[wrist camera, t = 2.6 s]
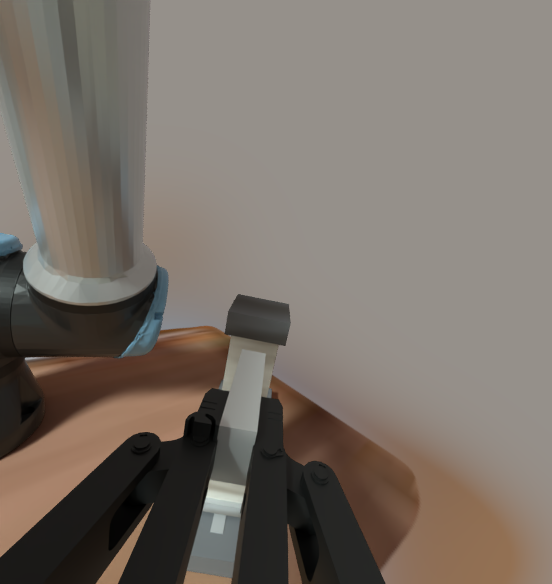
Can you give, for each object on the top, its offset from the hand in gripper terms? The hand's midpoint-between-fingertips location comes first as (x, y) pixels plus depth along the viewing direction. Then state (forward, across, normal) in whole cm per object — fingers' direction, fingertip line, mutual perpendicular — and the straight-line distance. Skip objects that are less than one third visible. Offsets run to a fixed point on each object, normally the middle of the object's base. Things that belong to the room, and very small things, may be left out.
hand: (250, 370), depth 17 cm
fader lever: (+8, 0, -20) cm, 21 cm away
